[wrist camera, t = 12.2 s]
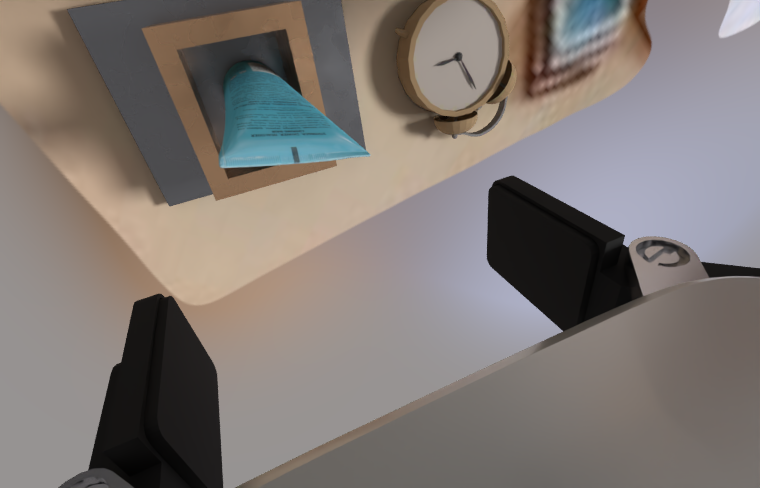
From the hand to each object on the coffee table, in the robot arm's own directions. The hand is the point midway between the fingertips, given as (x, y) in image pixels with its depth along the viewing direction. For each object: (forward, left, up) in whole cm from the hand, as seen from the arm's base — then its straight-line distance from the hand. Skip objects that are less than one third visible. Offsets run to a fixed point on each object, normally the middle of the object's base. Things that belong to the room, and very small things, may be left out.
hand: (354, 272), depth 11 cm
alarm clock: (-21, +3, -31) cm, 37 cm away
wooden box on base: (0, 0, -30) cm, 30 cm away
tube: (-1, 0, -29) cm, 29 cm away
